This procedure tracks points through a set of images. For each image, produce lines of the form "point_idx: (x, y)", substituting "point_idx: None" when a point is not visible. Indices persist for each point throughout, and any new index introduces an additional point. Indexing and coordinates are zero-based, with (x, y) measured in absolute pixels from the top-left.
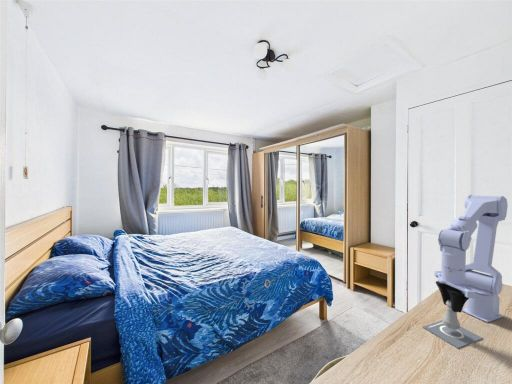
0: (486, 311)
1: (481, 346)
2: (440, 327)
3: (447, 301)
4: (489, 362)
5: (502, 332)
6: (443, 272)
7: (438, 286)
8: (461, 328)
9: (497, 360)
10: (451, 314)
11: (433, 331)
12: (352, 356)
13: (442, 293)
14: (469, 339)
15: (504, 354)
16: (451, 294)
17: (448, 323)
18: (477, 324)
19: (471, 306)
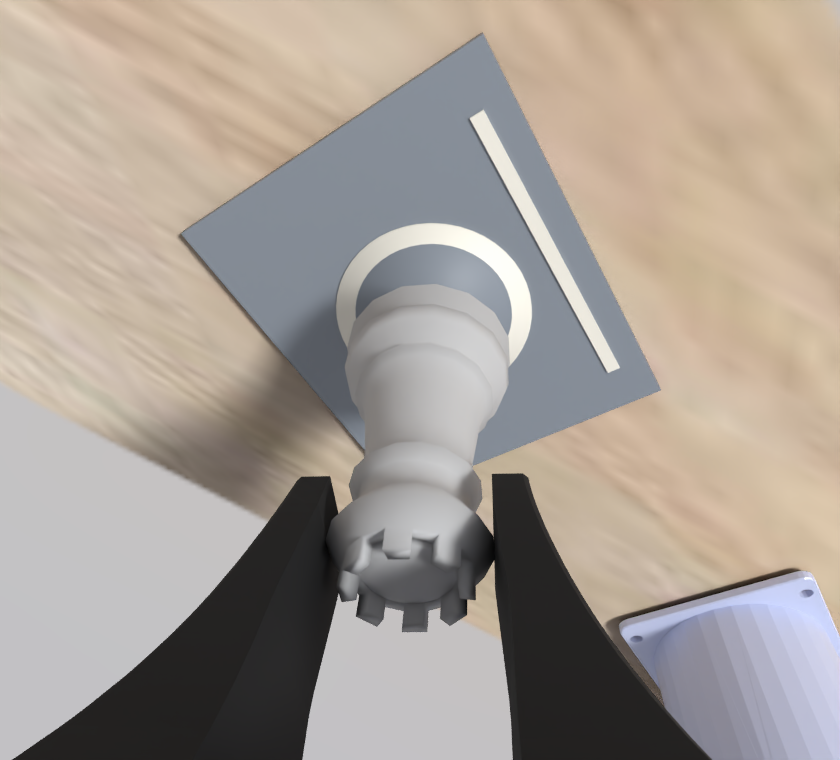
0: (671, 702)
1: (296, 426)
2: (493, 250)
3: (433, 544)
4: (105, 366)
5: None
6: None
7: (634, 732)
8: (507, 427)
9: (158, 428)
10: (372, 430)
11: (399, 127)
12: None
13: (516, 619)
14: (349, 396)
15: (251, 502)
16: (78, 754)
17: (365, 325)
18: (594, 559)
19: (752, 667)
